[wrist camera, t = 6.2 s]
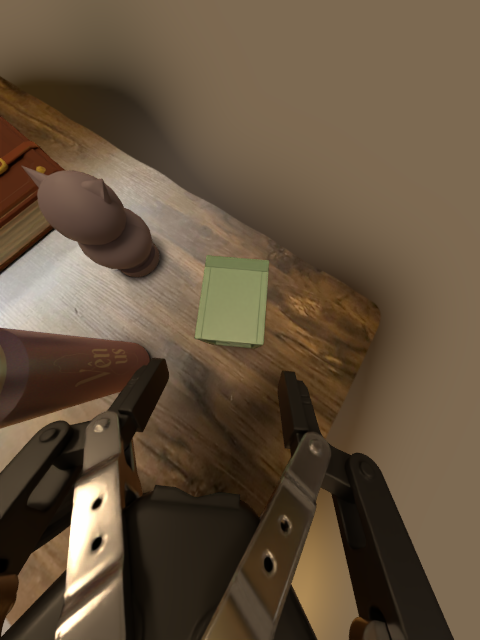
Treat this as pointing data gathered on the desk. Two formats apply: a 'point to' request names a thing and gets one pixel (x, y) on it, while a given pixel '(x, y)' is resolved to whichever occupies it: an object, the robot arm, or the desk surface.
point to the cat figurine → (96, 221)
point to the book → (20, 193)
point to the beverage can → (60, 371)
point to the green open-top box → (233, 302)
